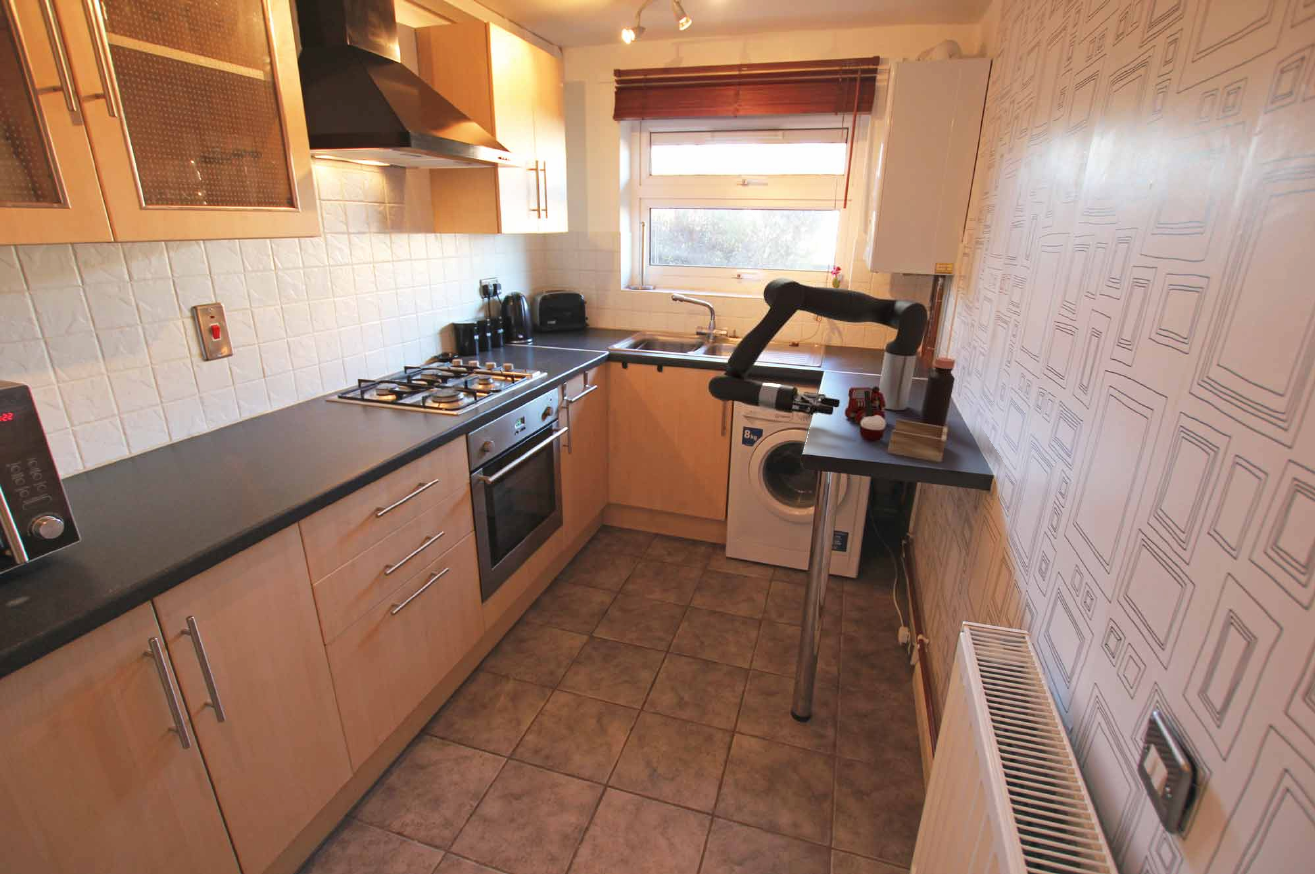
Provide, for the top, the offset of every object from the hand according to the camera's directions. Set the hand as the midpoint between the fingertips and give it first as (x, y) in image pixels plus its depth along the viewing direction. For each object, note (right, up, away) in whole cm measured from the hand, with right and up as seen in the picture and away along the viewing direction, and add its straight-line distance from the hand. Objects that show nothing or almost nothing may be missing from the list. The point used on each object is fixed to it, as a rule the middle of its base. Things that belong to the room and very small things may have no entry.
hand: (836, 407), depth 165 cm
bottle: (+31, -6, +10) cm, 33 cm away
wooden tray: (+18, -11, -8) cm, 23 cm away
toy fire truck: (+12, -4, +14) cm, 19 cm away
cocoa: (+9, -9, -2) cm, 12 cm away
